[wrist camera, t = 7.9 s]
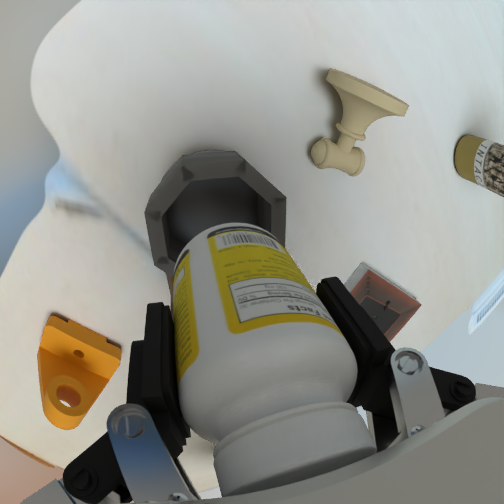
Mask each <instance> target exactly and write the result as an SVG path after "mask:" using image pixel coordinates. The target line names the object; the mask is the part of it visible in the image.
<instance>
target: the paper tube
mask: <svg viewBox="0 0 504 504" xmlns="http://www.w3.org/2000/svg"><path fill="white" fill-rule="evenodd" d="M455 165H456V169H457V171H458V173H459V175H460V176H461V177H463V178H465V179H467V180H469V181H471V182H474V183H476V184H478V185H480V186H482V187H484V188H486V189H488V190H490V191H492V192H494V193H496V194H498V195H500V196H502V197H504V145H501V144H498V143H495V142H492V141H489V140H486V139H482V138H479V137H476V136H472V135H466V136H464V137H463V138H462V139H461V140H460V141H459V143H458V145H457V148H456V152H455Z"/></svg>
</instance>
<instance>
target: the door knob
mask: <svg viewBox="0 0 504 504" xmlns="http://www.w3.org/2000/svg"><path fill="white" fill-rule="evenodd" d="M326 80H327V81H328V82H329V83H330V84H331V85H333V87H334V88H335V89H336V90H337V92H338V94H339V96H340V98H341V101H342V105H343V117H342V121H341V123H337V124H336V128H337V129H338V130H339V131H340V132H341V134H340V137H339V139H338V141H337V144H335V143H333V142H332V141H331V140H329V139H328V138H322V139H320V140H319V141H318V142H316V143H315V144H314V145H313V147H312V149H311V157H312V159H313V161H314V163H315V165H316V167H317V168H320V169H324V168H336V169H340V170H342V171H344V172H346V173H347V174H348V175H350V176H357V175H359V174H360V173H361V171H362V170H363V167H364V164H365V155H364V152H363V151H362V149H360V148H359V147H353V146H354V143H355V141H356V140H361V141H363V140H365V138H366V137H365V135H364V132H365V130H366V129H367V127H368V126H369V125H370V124H371V123H372V122H374V121H375V120H377V119H379V118H382V117H385V116H403V117H404V116H405V114H406V111H407V109H408V107H409V105H408V104H406V103H405V102H403V101H401V100H400V99H398V98H396V97H395V96H393V95H391V94H389V93H387V92H385V91H384V90H382V89H380V88H378V87H376V86H374V85H372V84H369V83H367V82H365V81H363V80H361V79H358V78H356V77H354V76H351V75H349V74H346V73H343V72H341V71H338V70H335V69H332V68H330V70H329V73H328V75H327V78H326Z"/></svg>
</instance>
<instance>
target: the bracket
mask: <svg viewBox="0 0 504 504" xmlns="http://www.w3.org/2000/svg"><path fill="white" fill-rule="evenodd" d="M106 340H107V338H106V337H104V336H102V335H100V334H98V333H96V332H94V331H92V330H90V329H88V328H86V327H84V326H82V325H80V324H78V323H76V322H74V321H72V320H71V319H69V321H68V323H67V322H65V321H64V320H62V319H60V318H58V317H56V316H50V317H49V319H48V321H47V324H46V326H45V328H44V332H43V335H42V339H41V343H40V346H39V350H38V354H37V358H38V372H39V382H40V391H41V399H42V406H43V411H44V414H45V416H46V418H47V419H48V420H49V421H50V422H51V423H52V424H53V425H54V426H56V427H58V428H60V429H64V430H71V429H74V428H76V427H77V426H78V425H79V424H80V422H81V421H82V420H83V418H84V417H85V415H86V414H87V412H88V411H89V409H90V408H91V406H92V405H93V403H94V402H95V401H96V399H97V398H98V396H99V395H100V393H101V392H102V391H103V389H104V388H105V386H106V385H107V383H108V382H109V380H110V379H111V377H112V375H113V374H114V372H115V371H116V369H117V368H118V366H119V365H120V360H121V353H122V352H121V350H120V349H119V348H118V347H116V346H114V345H112V344H110V343H107V342H106ZM59 400H63V401H65V402H67V403H68V404H69V405H70V406H71V407H67V406H65V405H64V404H62V403H61V402H60V401H59Z"/></svg>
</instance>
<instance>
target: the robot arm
mask: <svg viewBox="0 0 504 504" xmlns="http://www.w3.org/2000/svg"><path fill="white" fill-rule="evenodd" d="M316 295H317V296H318V298H319V299H320V301H321V302H322V304H323V305H324V307H325V308H326V310H327V311H328V313H329V314H330V316H331V317H332V319H333V320H334V322H335V324H336V325H337V327H338V328H339V329H340V331H341V333H342V334H343V336H344V337H345V339H346V341H347V342H348V344H349V346H350V348H351V350H352V351H353V353H354V356H355V359H356V363H357V370H358V372H357V380H356V384H355V387H354V389H353V392H352V394H351V396H350V397H349V399H348V400H347V402H346V403H349V404H352V405H353V406H354V407H358V406H361V405H362V407H363V409H364V410H366V414H367V422H368V430H369V432H370V434H371V436H372V438H373V440H374V442H375V445H376V447H377V451H376V454H374V455H372V456H370V457H368V458H365V459H363V460H360V461H358V462H355V463H353V464H350V465H348V466H345V467H343V468H340V469H337V470H334V471H331V472H329V473H326V474H323V475H319V476H316V477H313V478H310V479H307V480H303V481H300V482H296V483H292V484H288V485H284V486H280V487H276V488H272V489H267V490H263V491H258V492H253V493H247V494H242V495H235V496H229V497H221V498H213V499H203V500H202V499H201V498H200V496H199V494H198V493H197V491H196V489H195V488H194V486H193V484H192V482H191V481H190V479H189V477H188V475H187V474H186V472H185V470H184V468H183V466H182V465H181V463H180V461H179V459H178V456H179V455H180V454H181V453H182V452H183V447H182V446H184V445H186V438H189V437H191V434H190V427H189V425H188V424H187V423H186V421H185V419H184V418H183V415H182V413H181V410H180V405H179V398H178V391H177V377H176V362H175V344H174V323H173V319H172V315H171V311H170V307H169V305H167V306H164V304H163V302H158V303H149V304H148V305H147V313H146V324H145V335H144V340H140V341H133V342H132V345H131V353H130V362H129V373H128V386H127V402H126V404H123V405H120V406H118V407H116V408H115V409H114V410H113V411H112V412H111V413H110V415H109V416H108V419H107V430H108V432H106V433H105V434H104V435H103V436H102V437H101V438H99V439H98V440H97V441H96V442H95V443H94V444H92V445H91V446H90V447H89V448H88V449H86V450H85V451H84V452H83V453H82V454H80V455H79V456H78V457H77V458H76V459H74V460H73V461H72V462H71V463H70V464H69V465H68V466H67V467H66V468H65V470H64V473H63V478H62V479H60V480H57V479H55V480H53V481H52V482H50V483H49V484H47V485H46V486H44V487H43V488H41V489H40V490H38V491H37V492H35V493H34V494H32V495H31V496H29V497H28V498H26V499H24V500H23V501H22V502H21V504H504V388H502V387H496V386H491V385H485V384H479V383H476V384H475V385H474V384H473V383H472V382H471V381H470V380H469V379H468V378H466V377H464V376H461V375H457V374H453V373H450V372H446V371H443V370H439V369H435V368H432V367H429V366H428V363H427V360H426V359H425V357H424V356H423V355H422V354H421V353H420V352H419V351H417V350H416V349H412V348H405V347H404V348H399V349H398V350H395V349H394V347H393V346H392V345H391V343H390V342H389V341H388V339H387V338H386V337H385V335H384V334H383V333H382V331H381V330H380V329H379V328H378V326H377V325H376V324H375V322H374V321H373V320H372V318H371V317H370V316H369V315H368V313H367V312H366V311H365V310H364V308H363V307H362V306H360V305H359V303H358V302H357V301H356V300H355V298H354V297H353V296H352V295H351V293H350V292H349V291H348V290H347V288H346V287H345V286H344V285H343V283H342V282H341V281H340V280H339V278H337V277H330V278H325V279H322V280H321V283H318V285H317V291H316ZM214 445H215V447H216V445H217V444H216V443H214ZM132 500H133V501H134V503H130V502H131V501H132Z"/></svg>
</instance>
